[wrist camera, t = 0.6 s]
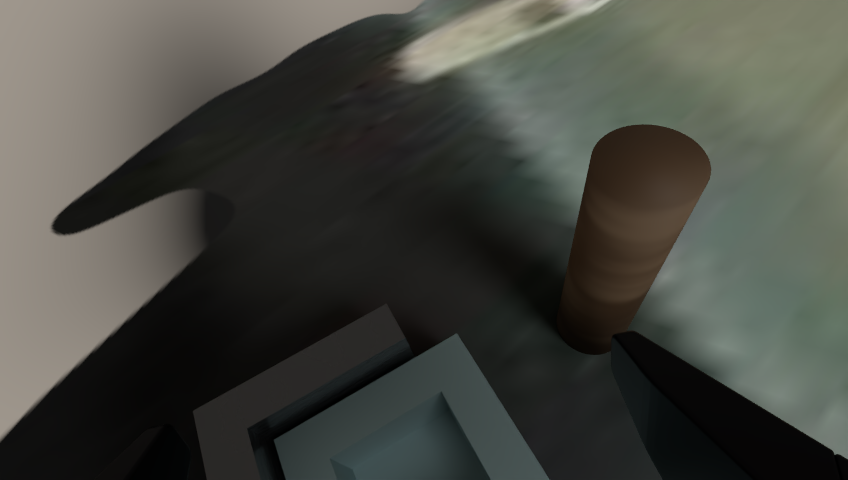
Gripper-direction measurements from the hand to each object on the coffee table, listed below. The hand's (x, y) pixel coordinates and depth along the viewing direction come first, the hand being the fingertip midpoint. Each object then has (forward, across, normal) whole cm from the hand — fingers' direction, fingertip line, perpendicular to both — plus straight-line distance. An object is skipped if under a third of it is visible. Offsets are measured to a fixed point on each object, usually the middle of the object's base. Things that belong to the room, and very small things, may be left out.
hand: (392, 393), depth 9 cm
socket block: (+6, +2, +15) cm, 16 cm away
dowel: (+13, -9, +12) cm, 19 cm away
